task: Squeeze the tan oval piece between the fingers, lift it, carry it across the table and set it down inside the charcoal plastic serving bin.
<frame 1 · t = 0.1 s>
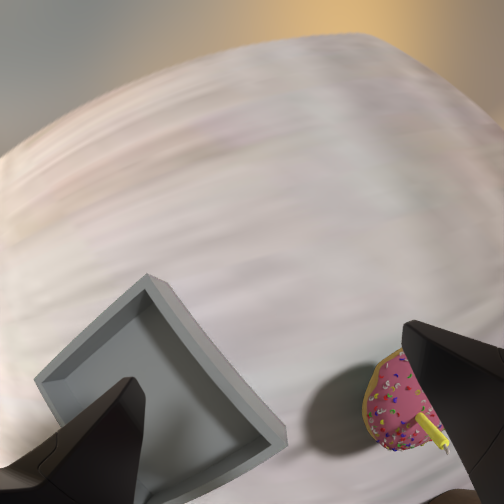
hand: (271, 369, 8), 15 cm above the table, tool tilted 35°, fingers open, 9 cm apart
cupcake: (392, 386, 21), on the table
serving bin: (156, 406, 22), on the table
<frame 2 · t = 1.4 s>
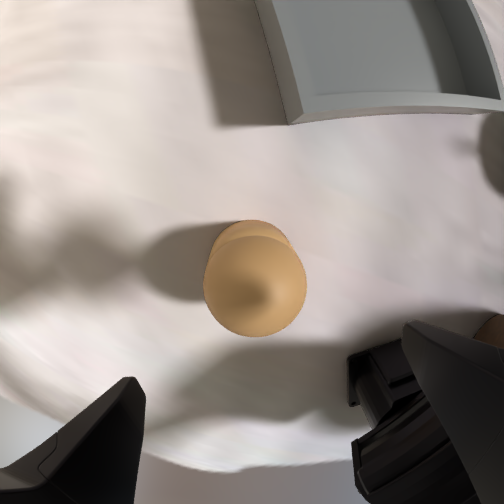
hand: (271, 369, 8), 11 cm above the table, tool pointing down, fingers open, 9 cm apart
tan oval piece: (251, 260, 19), on the table
plant pot: (485, 341, 23), on the table
serving bin: (368, 15, 14), on the table
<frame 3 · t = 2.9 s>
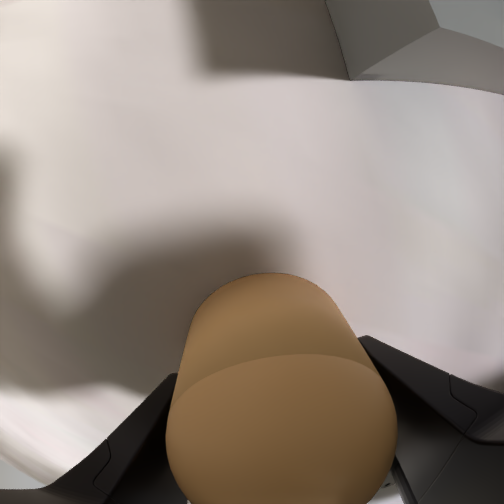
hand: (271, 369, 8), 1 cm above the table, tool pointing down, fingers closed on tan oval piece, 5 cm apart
tan oval piece: (267, 345, 10), on the table, touching gripper
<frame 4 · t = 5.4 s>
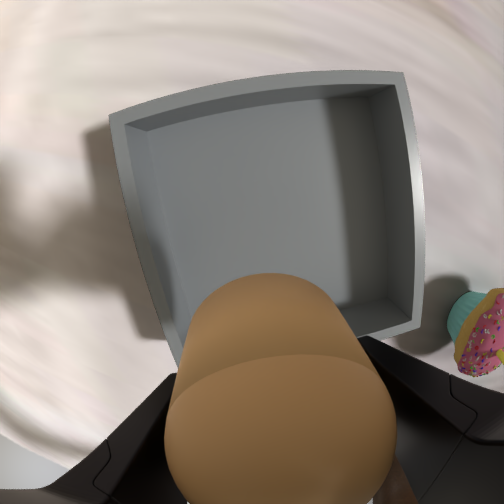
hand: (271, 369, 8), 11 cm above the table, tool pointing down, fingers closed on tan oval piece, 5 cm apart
tan oval piece: (266, 345, 10), point 10 cm above the table, touching gripper
cupcake: (463, 311, 22), on the table
plant pot: (398, 444, 28), on the table
serving bin: (280, 217, 19), on the table
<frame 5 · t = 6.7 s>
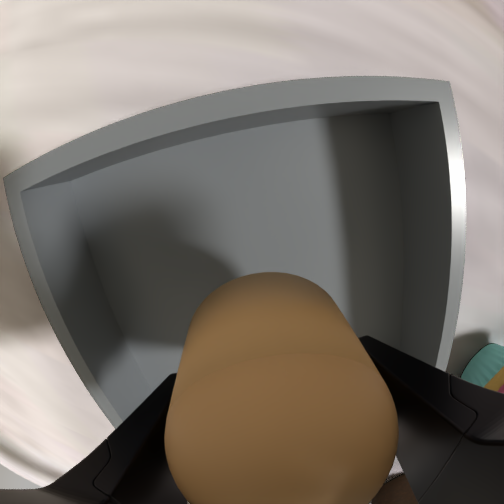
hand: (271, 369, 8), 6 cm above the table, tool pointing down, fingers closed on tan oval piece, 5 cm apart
tan oval piece: (267, 345, 10), point 4 cm above the table, touching gripper
cupcake: (479, 363, 17), on the table
plant pot: (397, 482, 23), on the table
serving bin: (259, 291, 14), on the table
when the fingers open (4 cm above the table, at t = 7.8 s): tan oval piece drops 2 cm, resting on serving bin.
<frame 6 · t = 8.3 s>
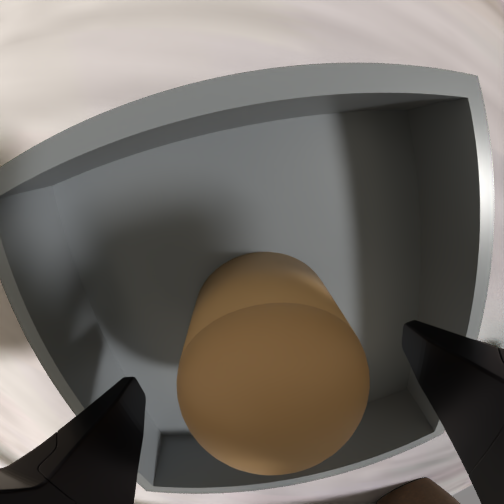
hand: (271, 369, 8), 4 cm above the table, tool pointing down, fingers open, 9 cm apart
tan oval piece: (263, 316, 11), point 1 cm above the table, touching serving bin
plant pot: (401, 491, 22), on the table
serving bin: (261, 307, 12), on the table
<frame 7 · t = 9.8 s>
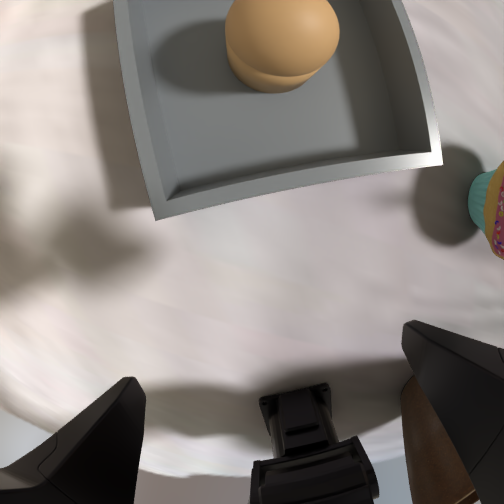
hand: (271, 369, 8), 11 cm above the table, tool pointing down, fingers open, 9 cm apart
tan oval piece: (272, 53, 14), point 1 cm above the table, touching serving bin
cupcake: (482, 197, 19), on the table
plant pot: (426, 382, 26), on the table
serving bin: (270, 58, 15), on the table
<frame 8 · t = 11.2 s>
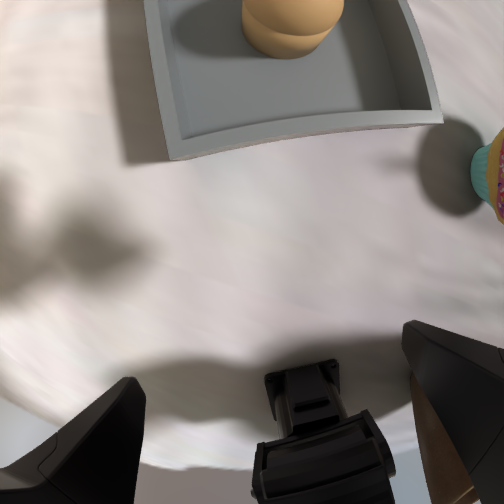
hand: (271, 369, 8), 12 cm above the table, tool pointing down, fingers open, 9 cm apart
tan oval piece: (282, 26, 14), point 1 cm above the table, touching serving bin
cupcake: (484, 171, 19), on the table
plant pot: (435, 365, 25), on the table
serving bin: (281, 31, 15), on the table
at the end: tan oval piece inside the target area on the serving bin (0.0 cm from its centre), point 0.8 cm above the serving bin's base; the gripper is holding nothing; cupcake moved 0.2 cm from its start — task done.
